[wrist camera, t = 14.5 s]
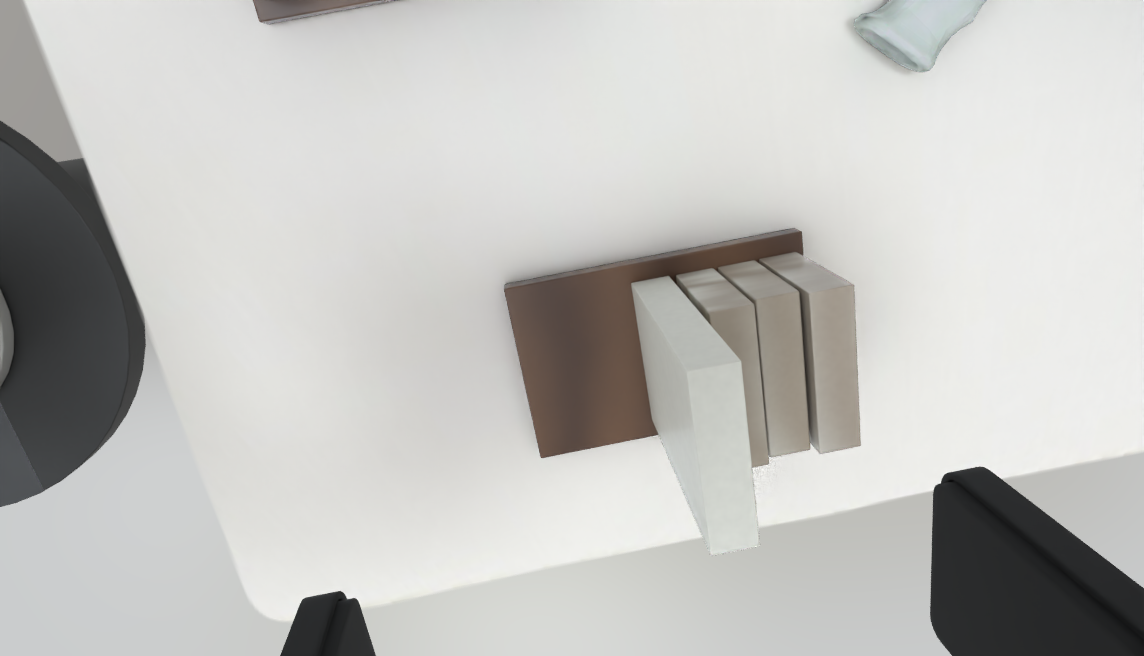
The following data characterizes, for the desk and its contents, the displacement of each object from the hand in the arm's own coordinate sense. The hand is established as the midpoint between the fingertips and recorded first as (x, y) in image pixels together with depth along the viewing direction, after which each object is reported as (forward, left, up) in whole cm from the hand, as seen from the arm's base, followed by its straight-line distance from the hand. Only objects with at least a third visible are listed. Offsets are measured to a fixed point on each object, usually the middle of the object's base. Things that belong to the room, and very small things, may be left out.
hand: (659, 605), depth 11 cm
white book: (+4, -6, -26) cm, 27 cm away
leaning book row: (+5, -6, -27) cm, 28 cm away
